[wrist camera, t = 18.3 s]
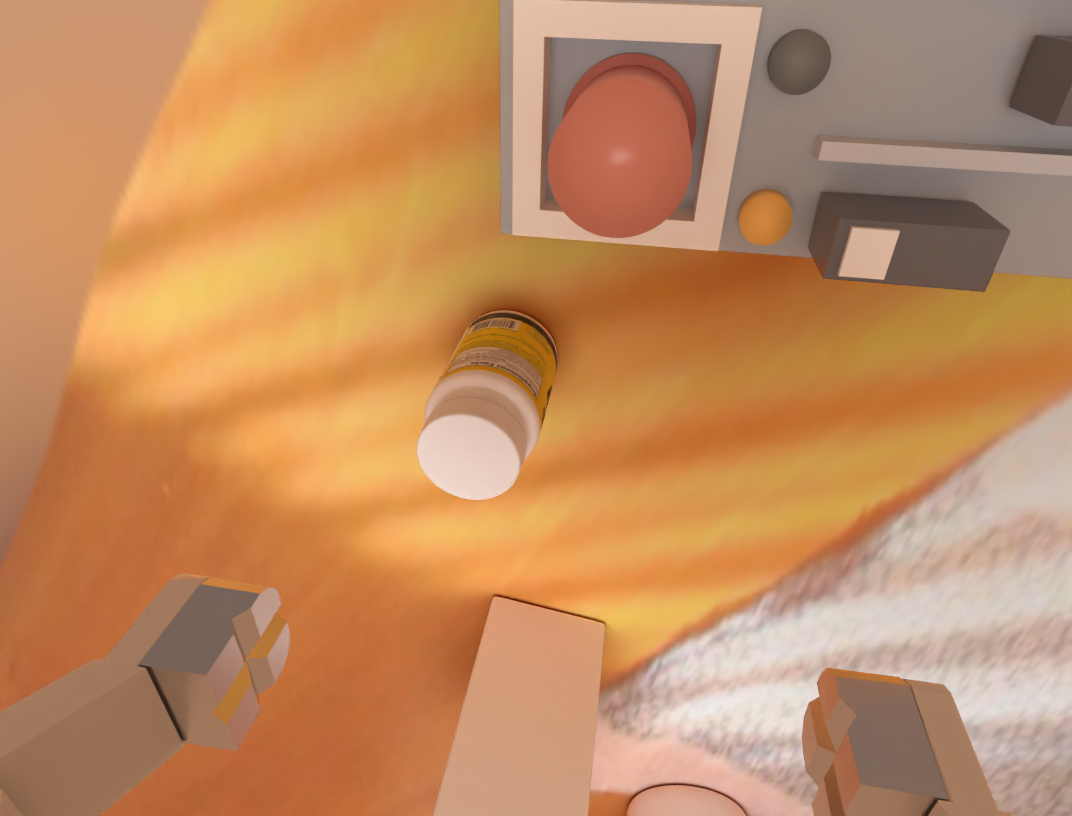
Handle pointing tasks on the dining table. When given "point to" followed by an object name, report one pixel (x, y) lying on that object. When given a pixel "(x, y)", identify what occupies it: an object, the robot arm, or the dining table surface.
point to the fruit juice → (682, 802)
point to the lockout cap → (624, 146)
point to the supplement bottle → (488, 406)
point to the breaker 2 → (1047, 81)
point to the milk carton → (527, 717)
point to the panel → (805, 114)
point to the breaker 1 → (906, 241)
